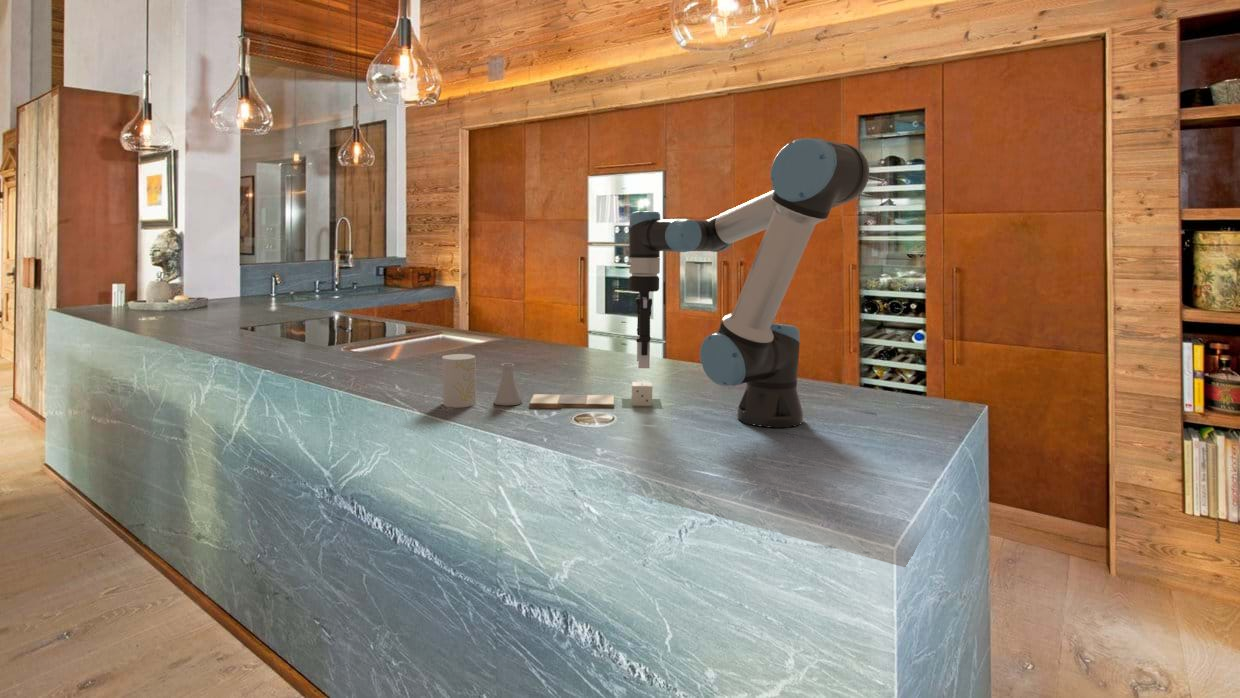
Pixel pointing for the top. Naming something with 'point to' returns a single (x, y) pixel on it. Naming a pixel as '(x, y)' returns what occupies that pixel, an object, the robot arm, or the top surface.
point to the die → (641, 394)
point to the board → (571, 401)
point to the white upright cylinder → (459, 380)
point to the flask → (507, 388)
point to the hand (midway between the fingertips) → (643, 364)
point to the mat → (628, 404)
